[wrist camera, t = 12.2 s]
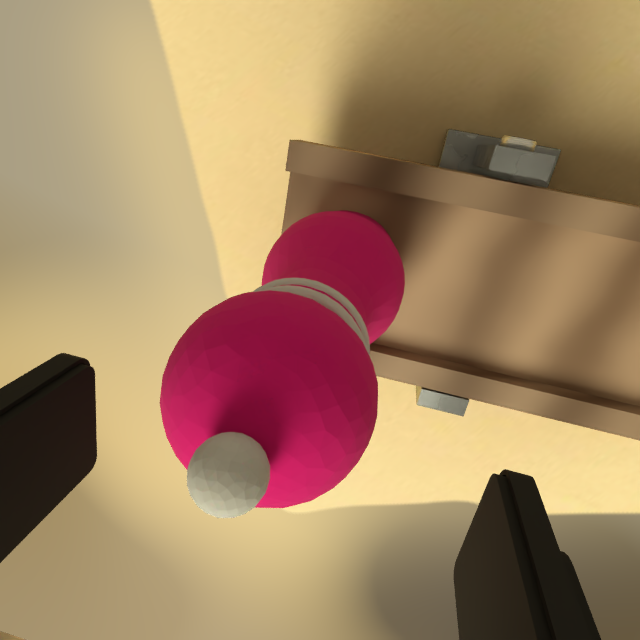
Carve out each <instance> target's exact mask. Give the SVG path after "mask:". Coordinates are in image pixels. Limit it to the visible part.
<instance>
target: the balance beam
mask: <svg viewBox="0 0 640 640" xmlns="http://www.w3.org/2000/svg"><path fill="white" fill-rule="evenodd" d="M286 171H290V178H289V185H288V192H287V199H286V206H285V213H284V220H283V227H282V234H283V233H284V232H285V231H286V230H287V229H288V228H289V227H290V226H291V225H292V224H294V223H295V222H297V221H299V220H300V219H302V218H304V217H307V216H309V215H312V214H315V213H320V212H325V211H341V210H348V211H354V212H358V213H361V214H364V215H367V216H369V217H370V218H372V219H374V220H375V221H377V222H378V223H379V224H380V225H381V226H382V227H383V228H384V229H385V230H386V232H387V233H388V234H389V236H390V238H391V240H392V242H393V243H394V245H395V247H396V249H397V250H398V252H399V255H400V257H401V260H402V263H403V268H404V273H405V288H404V295H403V298H402V302H401V305H400V308H399V311H398V313H397V315H396V317H395V319H394V321H393V322H392V323H391V325H390V326H389V328H388V329H387V330H386V331H385V332H384V333H383V334H382V335H381V336H380V337H379V338H377V339H376V340H375V341H374V342H372V343H371V344H370V358H371V360H372V363H373V365H374V369H375V374H376V376H379V377H383V378H387V379H391V380H395V381H399V382H403V383H407V384H411V385H416V386H420V387H424V388H428V389H432V390H436V391H440V392H444V393H448V394H452V395H456V396H460V397H465V398H469V399H473V400H477V401H481V402H485V403H489V404H493V405H497V406H501V407H505V408H509V409H514V410H518V411H522V412H526V413H530V414H534V415H538V416H542V417H546V418H550V419H554V420H558V421H563V422H567V423H571V424H575V425H579V426H583V427H587V428H591V429H595V430H599V431H603V432H607V433H612V434H616V435H620V436H624V437H628V438H632V439H636V440H640V206H638V205H633V204H627V203H622V202H617V201H612V200H607V199H602V198H596V197H591V196H586V195H581V194H576V193H571V192H565V191H560V190H555V189H550V188H545V187H540V186H535V185H529V184H524V183H519V182H514V181H509V180H504V179H498V178H493V177H488V176H483V175H478V174H473V173H467V172H462V171H457V170H452V169H447V168H442V167H437V166H431V165H426V164H421V163H416V162H411V161H406V160H400V159H395V158H390V157H385V156H380V155H375V154H369V153H364V152H359V151H354V150H349V149H344V148H338V147H333V146H328V145H323V144H318V143H313V142H308V141H302V140H290V142H289V149H288V156H287V163H286ZM282 234H281V235H282Z"/></svg>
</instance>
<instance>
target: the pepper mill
mask: <svg viewBox="0 0 640 640" xmlns="http://www.w3.org/2000/svg"><path fill="white" fill-rule="evenodd" d="M404 288H405V273H404V268H403V263H402V260H401V257H400V255H399V252H398V250H397V249H396V247H395V245H394V243H393V242H392V240H391V238H390V236H389V234H388V233H387V232H386V230H385V229H384V228H383V227H382V226H381V225H380V224H379V223H378V222H377V221H375V220H374V219H372V218H370V217H369V216H367V215H364V214H361V213H358V212H354V211H348V210H341V211H325V212H320V213H315V214H312V215H309V216H307V217H304V218H302V219H300V220H299V221H297V222H295V223H294V224H292V225H291V226H290V227H289V228H288V229H287V230H286V231H285V232H284V233H283V234H282V235H281V236H280V238H279V239H278V240H277V241H276V243H275V244H274V245H273V247H272V249H271V251H270V253H269V254H268V257H267V260H266V263H265V266H264V271H263V278H262V286H261V287H259V288H257V289H256V290H254V291H253V292H248V293H243V294H240V295H237V296H234V297H231V298H229V299H227V300H225V301H223V302H222V303H220V304H218V305H216V306H214V307H213V308H211V309H209V310H208V311H206V312H205V313H203V314H202V315H201V316H200V317H199V318H198V319H197V320H196V321H195V322H194V323H193V324H192V325H191V326H190V327H189V328H188V329H187V331H186V332H185V333H184V334H183V336H182V337H181V338H180V339H179V341H178V343H177V345H176V346H175V348H174V350H173V352H172V353H171V355H170V357H169V360H168V363H167V366H166V368H165V371H164V374H163V379H162V387H161V397H160V407H161V413H162V420H163V425H164V428H165V432H166V436H167V439H168V441H169V443H170V445H171V447H172V449H173V451H174V453H175V454H176V456H177V458H178V459H179V460H180V462H181V463H182V464H183V465H184V467H185V468H186V469H187V486H188V489H189V493H190V496H191V497H192V499H193V500H194V502H195V503H196V505H197V506H198V507H199V508H200V509H202V510H203V511H204V512H205V513H207V514H210V515H212V516H215V517H217V518H234V517H237V516H240V515H243V514H245V513H247V512H248V511H250V510H251V509H253V508H254V507H260V508H285V507H289V506H293V505H297V504H301V503H305V502H308V501H311V500H313V499H315V498H317V497H319V496H320V495H322V494H324V493H326V492H327V491H329V490H331V489H333V488H334V487H335V486H336V485H337V484H338V483H340V482H341V481H342V480H343V479H344V478H345V477H346V476H347V475H348V474H349V472H350V471H351V470H352V469H353V468H354V466H355V465H356V464H357V463H358V461H359V460H360V458H361V456H362V454H363V453H364V451H365V449H366V448H367V446H368V444H369V441H370V438H371V436H372V433H373V431H374V427H375V422H376V418H377V404H378V382H377V378H376V374H375V369H374V365H373V363H372V360H371V358H370V344H371V343H372V342H374V341H375V340H376V339H377V338H379V337H380V336H381V335H382V334H383V333H384V332H385V331H386V330H387V329H388V328H389V326H390V325H391V323H392V322H393V321H394V319H395V317H396V315H397V313H398V311H399V308H400V305H401V302H402V298H403V295H404Z"/></svg>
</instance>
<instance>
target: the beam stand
mask: <svg viewBox="0 0 640 640" xmlns="http://www.w3.org/2000/svg"><path fill="white" fill-rule="evenodd" d="M536 143H537V141H534V140H529V139H524V138H519V137H512V136H504V135H503V137H502V139H500V138H495V137H489V136H484V135H479V134H473V133H468V132H462V131H457V130H452V129H448V131H447V135H446V138H445V142H444V146H443V150H442V154H441V157H440V161H439V165H438V167H442V168H447V169H452V170H457V171H462V172H467V173H473V174H478V175H483V176H488V177H493V178H498V179H504V180H509V181H514V182H519V183H524V184H529V185H535V186H540V187H545V188H548V185H549V182H550V180H551V177H552V174H553V171H554V169H555V166H556V163H557V160H558V157H559V155H560V152H561V150H560V149H554V148H549V147H543V146H538V145H536ZM416 400H417V405H419V406H423V407H427V408H432V409H436V410H440V411H444V412H448V413H452V414H456V415H460V416H464V413H465V410H466V408H467V405H468V402H469V398H465V397H460V396H456V395H452V394H448V393H444V392H440V391H436V390H432V389H428V388H424V387H420V386H416Z"/></svg>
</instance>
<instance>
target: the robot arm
mask: <svg viewBox="0 0 640 640" xmlns="http://www.w3.org/2000/svg"><path fill="white" fill-rule="evenodd" d="M96 457H97V442H96V401H95V371H94V369H93V368H92V367H91V366H90V363H89V361H88V360H87V359H85V358H81V357H77V356H72V355H69V354H66V353H61V354H58V355H56V356H55V357H53V358H51V359H50V360H48V361H46V362H44V363H43V364H41V365H40V366H38V367H36V368H34V369H33V370H31V371H29V372H28V373H26V374H24V375H23V376H21V377H19V378H18V379H16V380H14V381H12V382H11V383H9V384H7V385H6V386H4V387H2V388H1V389H0V563H1V562H2V561H3V560H4V558H5V557H6V556H7V555H8V554H9V553H10V552H11V551H12V550H13V549H14V548H15V547H16V546H17V545H18V544H19V543H20V542H21V541H22V540H23V539H24V538H25V537H26V536H27V535H28V534H29V533H30V532H31V531H32V530H33V529H34V528H35V527H36V526H37V525H38V524H39V523H40V522H41V521H42V520H43V519H44V518H45V517H46V516H47V515H48V514H49V513H50V512H51V511H52V510H53V509H54V508H55V507H56V506H57V505H58V504H59V503H60V502H61V501H62V500H63V499H64V498H65V497H66V496H67V495H68V494H69V492H70V491H72V490H73V488H75V487H76V485H77V484H79V483H80V482H81V481H82V479H83V478H84V477H85V476H86V475H87V474H88V473H89V472H90V471H91V470H92V468H93V467H94V464H95V462H96V459H97V458H96ZM454 586H455V597H456V608H457V619H458V629H459V640H601V638H600V635H599V633H598V630H597V627H596V625H595V622H594V620H593V617H592V614H591V611H590V609H589V606H588V604H587V601H586V598H585V596H584V593H583V590H582V588H581V585H580V582H579V580H578V577H577V574H576V572H575V569H574V566H573V564H572V562H571V560H570V558H569V556H568V555H567V554H565V553H564V552H561V551H560V549H559V547H558V544H557V541H556V539H555V535H554V533H553V530H552V527H551V524H550V522H549V519H548V516H547V513H546V510H545V508H544V505H543V502H542V499H541V497H540V494H539V491H538V488H537V485H536V483H535V480H534V478H533V477H531V476H528V475H525V474H521V473H517V472H513V471H509V470H506V469H505V470H503V471H502V472H501V473H500V475H498V474H492V475H491V477H490V479H489V482H488V484H487V486H486V489H485V491H484V494H483V496H482V499H481V501H480V503H479V506H478V509H477V511H476V513H475V516H474V518H473V521H472V523H471V526H470V528H469V530H468V533H467V535H466V537H465V540H464V543H463V545H462V547H461V550H460V552H459V555H458V557H457V559H456V562H455V567H454ZM0 640H25V639H23V638H19V637H17V636H14V635H10V634H8V633H4V632H2V631H0Z"/></svg>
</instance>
